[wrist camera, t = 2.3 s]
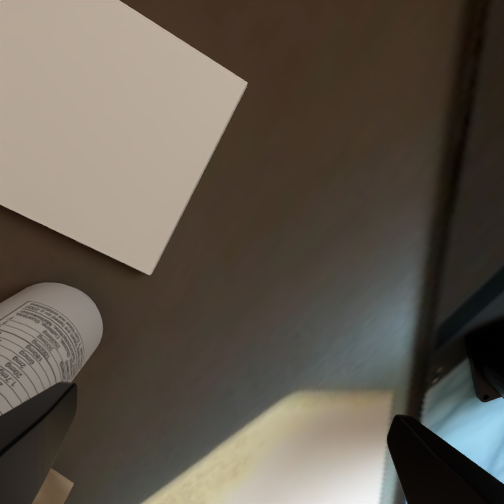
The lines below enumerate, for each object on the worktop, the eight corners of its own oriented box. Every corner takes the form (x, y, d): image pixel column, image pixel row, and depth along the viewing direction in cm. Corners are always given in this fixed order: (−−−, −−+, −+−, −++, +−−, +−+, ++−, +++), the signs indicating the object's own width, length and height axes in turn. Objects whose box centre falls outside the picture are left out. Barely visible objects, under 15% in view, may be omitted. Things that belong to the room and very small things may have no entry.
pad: (246, 87, 18) (247, 82, 17) (153, 270, 21) (150, 275, 20) (25, -54, 16) (12, -69, 15) (-48, 174, 18) (-64, 174, 17)
